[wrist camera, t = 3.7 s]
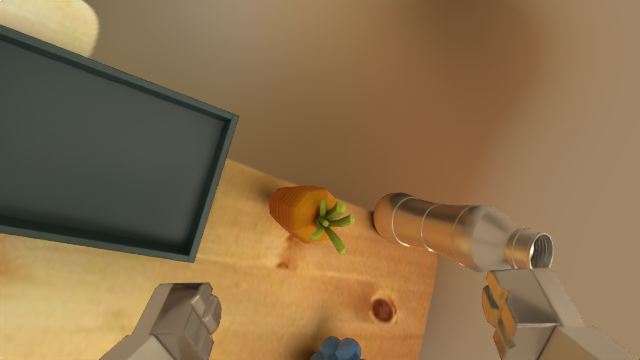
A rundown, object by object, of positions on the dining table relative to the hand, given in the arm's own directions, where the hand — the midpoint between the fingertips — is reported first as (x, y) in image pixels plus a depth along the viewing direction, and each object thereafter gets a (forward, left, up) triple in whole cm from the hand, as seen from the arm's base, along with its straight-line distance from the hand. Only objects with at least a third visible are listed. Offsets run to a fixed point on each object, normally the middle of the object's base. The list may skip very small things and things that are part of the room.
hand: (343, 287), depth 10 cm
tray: (-8, +4, -27) cm, 29 cm away
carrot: (+8, -1, -27) cm, 28 cm away
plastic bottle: (+24, -4, -27) cm, 36 cm away
